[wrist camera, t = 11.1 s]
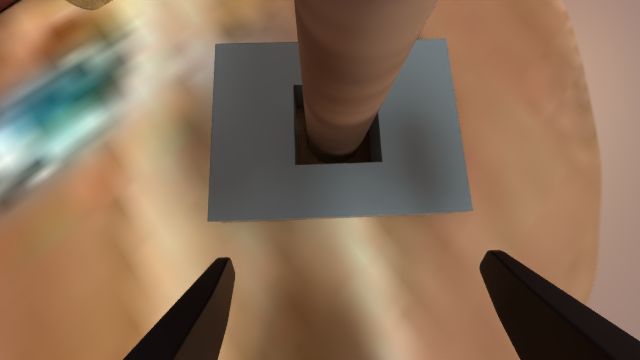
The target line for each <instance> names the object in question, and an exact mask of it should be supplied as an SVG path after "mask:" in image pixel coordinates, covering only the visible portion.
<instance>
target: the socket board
mask: <svg viewBox="0 0 640 360" xmlns="http://www.w3.org/2000/svg"><path fill="white" fill-rule="evenodd" d="M300 106H304V100H303V89H302V78H301V67H300V56H299V45H298V42H278V43H235V44H216V45H215V67H214V89H213V111H212V134H211V156H210V178H209V201H208V221H211V222H225V223H226V222H250V221H275V220H300V219H325V218H350V217H375V216H400V215H425V214H448V213H457V212H466V211H473V208H472V202H471V195H470V189H469V183H468V176H467V170H466V163H465V157H464V151H463V144H462V138H461V131H460V125H459V119H458V112H457V106H456V99H455V93H454V87H453V80H452V74H451V67H450V61H449V55H448V48H447V42H446V39H417V40H416V42H415V44H414V45H413V47H412V49H411V51H410V53H409V55H408V57H407V59H406V60H405V62H404V64H403V66H402V68H401V70H400V72H399V73H398V75H397V77H396V79H395V81H394V83H393V85H392V87H391V88H390V90H389V92H388V94H387V96H386V98H385V100H384V102H383V103H382V105H381V107H380V109H379V111H378V113H377V115H376V116H375V118H374V120H373V122H372V124H371V126H370V128H369V142H370V154H371V162H369V163H341V164H312V165H298V143H297V107H300Z"/></svg>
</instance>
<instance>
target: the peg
mask: <svg viewBox="0 0 640 360" xmlns="http://www.w3.org/2000/svg"><path fill="white" fill-rule="evenodd" d="M437 1H438V0H294V2H295V13H296V24H297V35H298V45H299V56H300V67H301V78H302V89H303V100H304V111H305V122H306V133H307V143H308V147H309V150H310V152H311V153H312V155H313V156H314V157H315V158H316V159H317V160H319V161H320V162H323V163H325V164H341V163H345V162H347V161H349V160H350V159H351V158H352V157H353V156H354V155H355V154H356V152H357V150H358V148H359V146H360V145H361V143H362V141H363V139H364V137H365V135H366V133H367V131H368V130H369V128H370V126H371V124H372V122H373V120H374V118H375V116H376V115H377V113H378V111H379V109H380V107H381V105H382V103H383V102H384V100H385V98H386V96H387V94H388V92H389V90H390V88H391V87H392V85H393V83H394V81H395V79H396V77H397V75H398V73H399V72H400V70H401V68H402V66H403V64H404V62H405V60H406V59H407V57H408V55H409V53H410V51H411V49H412V47H413V45H414V44H415V42H416V40H417V38H418V36H419V34H420V32H421V31H422V29H423V27H424V25H425V23H426V21H427V19H428V17H429V16H430V14H431V12H432V10H433V8H434V6H435V4H436V2H437Z"/></svg>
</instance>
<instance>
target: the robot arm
mask: <svg viewBox="0 0 640 360" xmlns="http://www.w3.org/2000/svg"><path fill="white" fill-rule="evenodd" d="M480 273H481V275H482V278H483V280H484V283H485V285H486V288H487V290H488V293H489V295H490V298H491V300H492V303H493V305H494V308H495V310H496V312H497V315H498V317H499V319H500V321H501V323H502V325H503V327H504V329H505V331H506V333H507V335H508V337H509V338H510V340H511V342H512V344H513V346H514V348H515V350H516V352H517V354H518V356H519V358H520V360H640V341H639V340H637V339H636V338H634V337H633V336H631V335H629V334H628V333H627V332H625V331H623V330H622V329H620V328H619V327H617V326H616V325H614V324H613V323H611V322H610V321H608V320H607V319H605V318H604V317H602V316H601V315H599V314H598V313H596V312H595V311H593V310H592V309H590V308H589V307H587V306H585V305H584V304H582V303H581V302H579V301H578V300H576V299H575V298H573V297H572V296H570V295H569V294H567V293H566V292H564V291H563V290H561V289H560V288H558V287H557V286H555V285H554V284H552V283H551V282H549V281H548V280H546V279H544V278H543V277H541V276H540V275H538V274H537V273H535V272H534V271H532V270H531V269H529V268H528V267H526V266H525V265H523V264H522V263H520V262H519V261H517V260H516V259H514V258H513V257H511V256H510V255H508V254H507V253H505V252H503V251H501V250H489V251H487V253H486V254H485V256H484V258H483V260H482V262H481V263H480ZM234 281H235V271H234V268H233V264H232V261H231V259H230V258H228V257H224V258H217V259H216V260H215V261H214V262H213V263H212V264H211V265H210V266H209V267H208V268H207V270H206V271H205V272H204V273H203V274H202V275H201V276H200V277H199V278H198V279H197V280H196V281H195V282H194V284H193V285H192V286H191V287H190V288H189V289H188V290H187V291H186V292H185V293H184V294H183V295H182V296H181V298H180V299H179V300H178V301H177V302H176V303H175V304H174V305H173V306H172V307H171V308H170V309H169V310H168V311H167V313H166V314H165V315H164V316H163V317H162V318H161V319H160V320H159V321H158V322H157V323H156V324H155V325H154V327H153V328H152V329H151V330H150V331H149V332H148V333H147V334H146V335H145V336H144V337H143V338H142V339H141V341H140V342H139V343H138V344H137V345H136V346H135V347H134V348H133V349H132V350H131V351H130V352H129V353H128V354H127V356H126V357H125V358H124V359H123V360H218V356H219V353H220V349H221V345H222V342H223V338H224V334H225V331H226V327H227V322H228V317H229V311H230V305H231V299H232V293H233V287H234Z"/></svg>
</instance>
